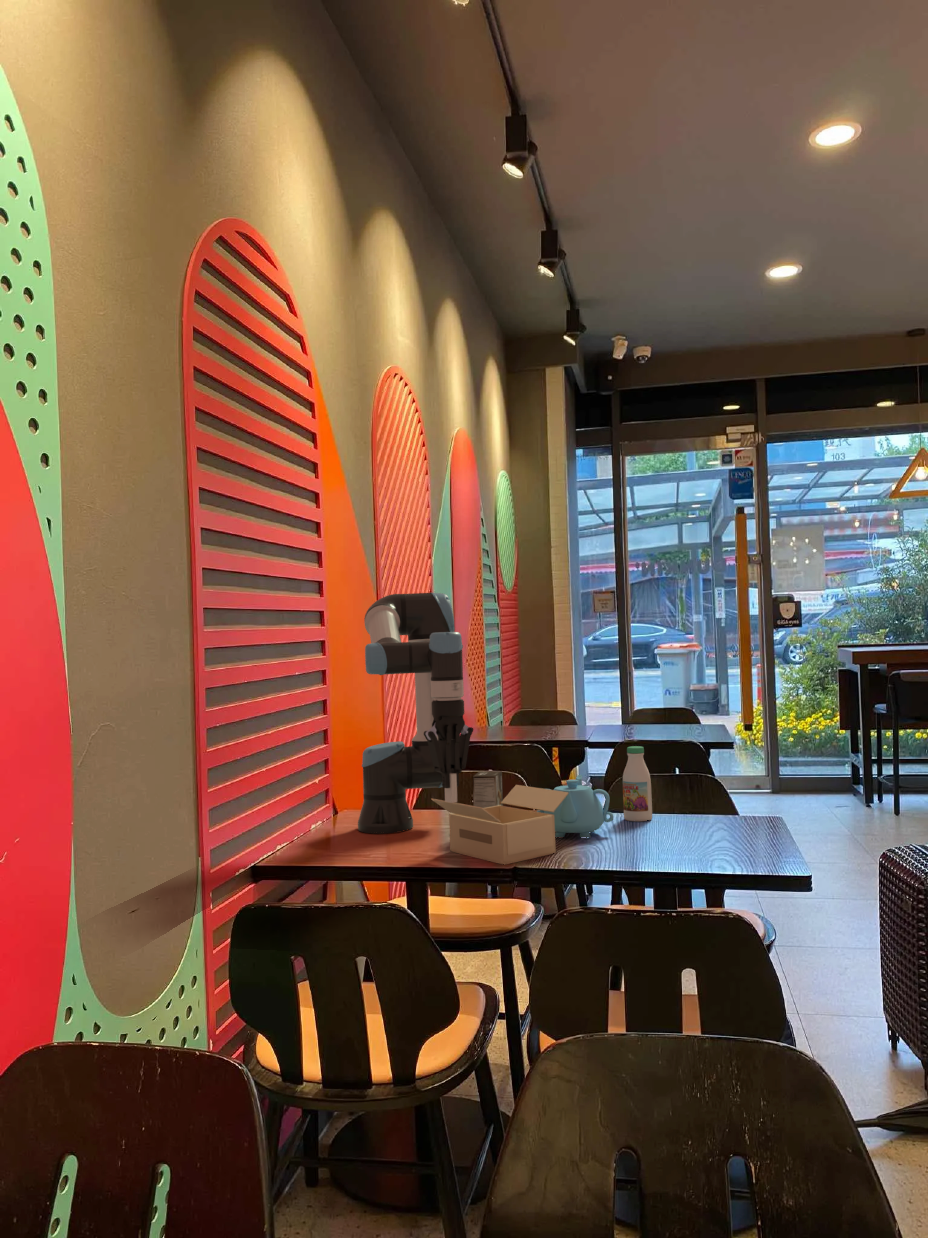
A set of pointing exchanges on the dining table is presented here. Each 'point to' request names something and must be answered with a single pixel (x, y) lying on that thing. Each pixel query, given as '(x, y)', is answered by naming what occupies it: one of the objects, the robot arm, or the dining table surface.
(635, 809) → the milk bottle
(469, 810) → the near flap
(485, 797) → the coffee box
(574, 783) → the teapot
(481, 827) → the carton
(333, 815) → the dining table surface
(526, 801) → the far flap
